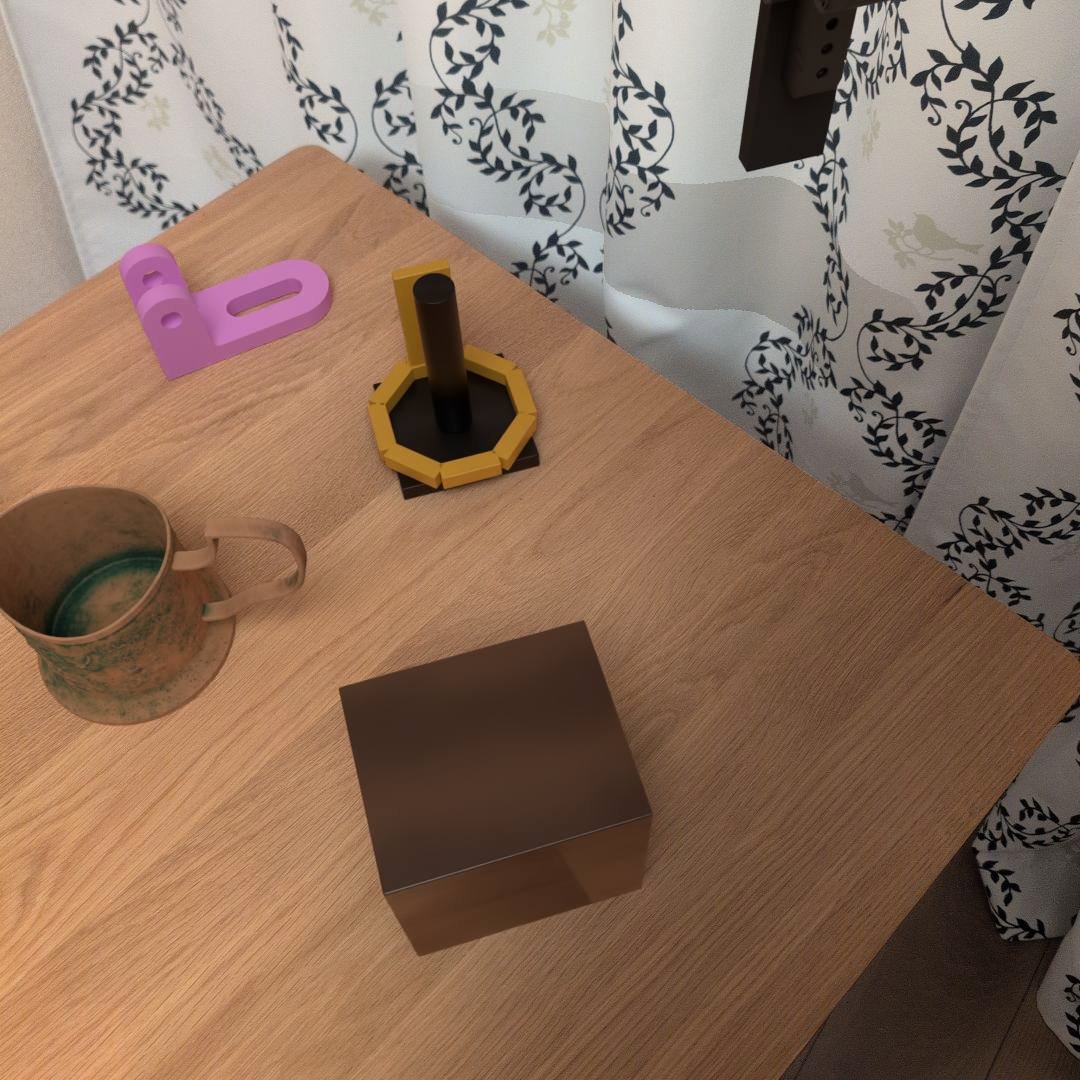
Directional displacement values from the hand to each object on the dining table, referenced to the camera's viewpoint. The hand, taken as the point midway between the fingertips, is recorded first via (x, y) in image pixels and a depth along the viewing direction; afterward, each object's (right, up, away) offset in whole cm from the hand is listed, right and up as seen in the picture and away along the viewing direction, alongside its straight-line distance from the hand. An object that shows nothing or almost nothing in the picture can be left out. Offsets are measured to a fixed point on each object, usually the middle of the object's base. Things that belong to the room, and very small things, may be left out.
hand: (707, 38), depth 42 cm
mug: (-27, -24, +27) cm, 45 cm away
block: (-8, -34, +20) cm, 40 cm away
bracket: (-27, -3, +40) cm, 48 cm away
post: (-12, -11, +34) cm, 38 cm away
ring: (-12, -10, +33) cm, 37 cm away
